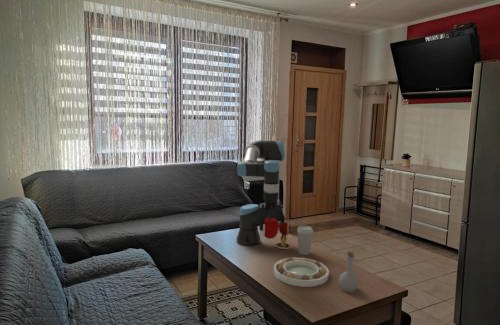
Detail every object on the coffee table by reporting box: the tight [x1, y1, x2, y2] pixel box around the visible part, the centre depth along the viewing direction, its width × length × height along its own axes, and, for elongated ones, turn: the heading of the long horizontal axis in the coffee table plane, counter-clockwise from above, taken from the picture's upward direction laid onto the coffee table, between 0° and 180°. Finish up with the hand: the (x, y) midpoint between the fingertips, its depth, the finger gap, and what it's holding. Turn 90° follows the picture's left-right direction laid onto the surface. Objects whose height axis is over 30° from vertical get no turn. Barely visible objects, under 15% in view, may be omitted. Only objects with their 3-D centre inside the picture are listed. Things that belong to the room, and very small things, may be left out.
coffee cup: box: [296, 225, 314, 256], centre depth 202 cm, size 10×10×15 cm
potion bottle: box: [338, 251, 359, 293], centre depth 159 cm, size 9×9×18 cm
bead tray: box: [273, 257, 330, 288], centre depth 174 cm, size 27×27×4 cm
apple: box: [264, 218, 279, 240], centre depth 178 cm, size 10×10×11 cm
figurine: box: [274, 221, 292, 250], centre depth 210 cm, size 9×10×15 cm
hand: (269, 234), depth 178 cm, fingers closed on apple, 10 cm apart
